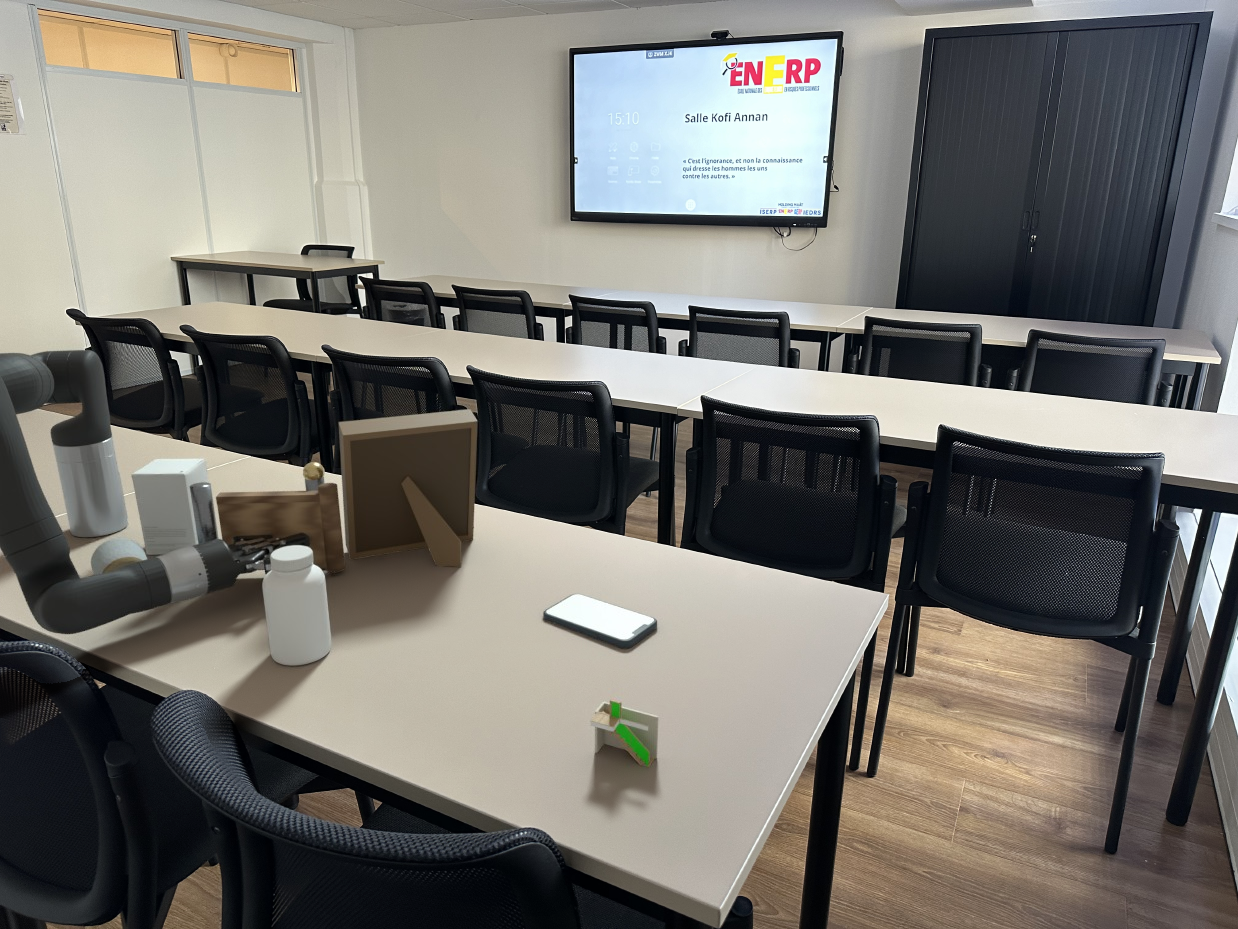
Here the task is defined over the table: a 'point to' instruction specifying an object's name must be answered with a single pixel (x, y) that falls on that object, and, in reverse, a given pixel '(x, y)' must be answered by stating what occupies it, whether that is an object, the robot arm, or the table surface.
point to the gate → (287, 519)
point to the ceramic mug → (116, 555)
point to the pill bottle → (296, 607)
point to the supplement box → (168, 503)
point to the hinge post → (204, 512)
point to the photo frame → (409, 484)
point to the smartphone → (601, 620)
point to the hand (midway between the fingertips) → (306, 539)
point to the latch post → (313, 477)
